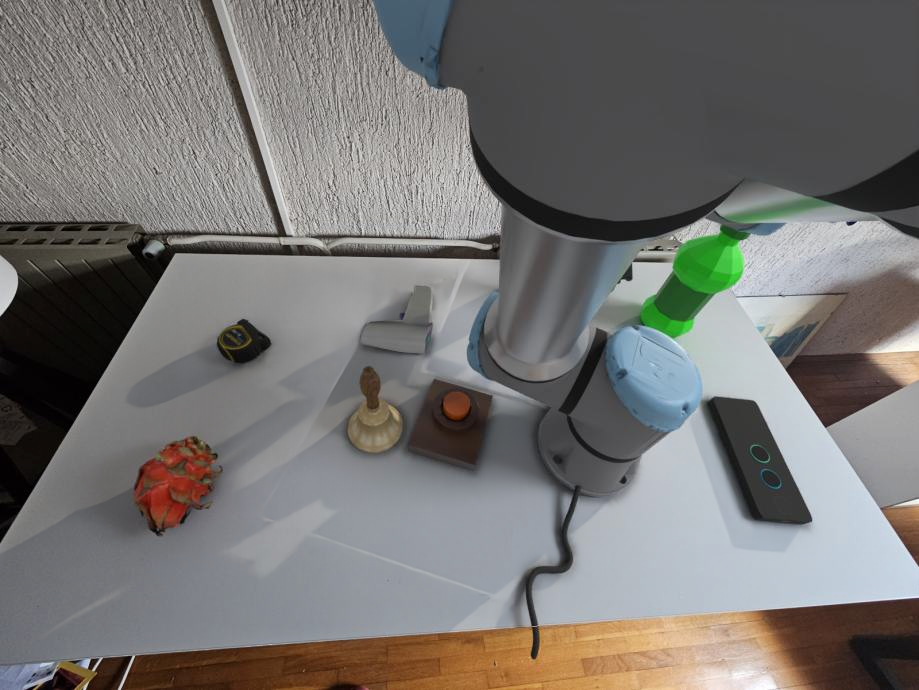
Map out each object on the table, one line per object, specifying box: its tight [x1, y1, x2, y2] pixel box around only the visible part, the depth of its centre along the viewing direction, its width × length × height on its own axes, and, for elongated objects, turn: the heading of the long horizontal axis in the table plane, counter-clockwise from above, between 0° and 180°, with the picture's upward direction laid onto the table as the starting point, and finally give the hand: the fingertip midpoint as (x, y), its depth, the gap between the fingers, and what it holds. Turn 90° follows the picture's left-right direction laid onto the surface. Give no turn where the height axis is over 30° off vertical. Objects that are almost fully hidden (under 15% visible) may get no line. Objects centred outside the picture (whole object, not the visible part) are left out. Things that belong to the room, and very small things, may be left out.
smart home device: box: [707, 395, 813, 525], centre depth 61 cm, size 8×2×20 cm
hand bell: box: [347, 365, 404, 454], centre depth 52 cm, size 8×8×16 cm
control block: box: [408, 378, 494, 471], centre depth 58 cm, size 12×10×4 cm
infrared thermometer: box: [359, 284, 434, 355], centre depth 70 cm, size 5×12×15 cm
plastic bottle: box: [639, 224, 752, 340], centre depth 68 cm, size 10×10×25 cm
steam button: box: [443, 392, 470, 421], centre depth 57 cm, size 4×4×2 cm
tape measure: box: [216, 318, 272, 364], centre depth 63 cm, size 7×7×4 cm
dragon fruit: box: [133, 435, 224, 538], centre depth 47 cm, size 8×8×12 cm
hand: (562, 292), depth 74 cm, fingers open, 13 cm apart
